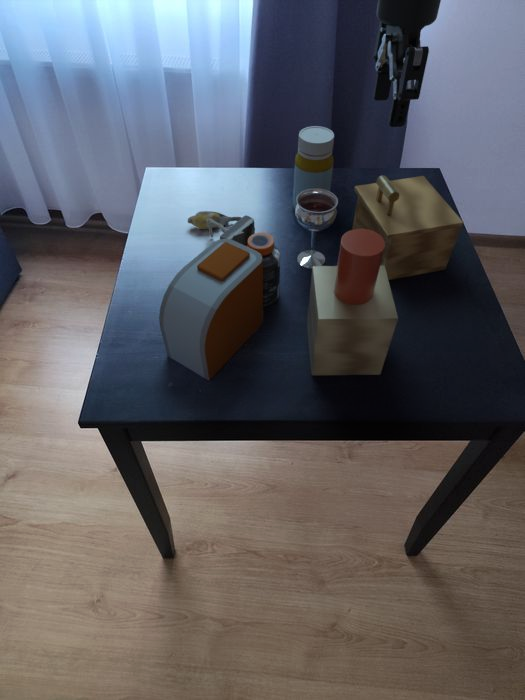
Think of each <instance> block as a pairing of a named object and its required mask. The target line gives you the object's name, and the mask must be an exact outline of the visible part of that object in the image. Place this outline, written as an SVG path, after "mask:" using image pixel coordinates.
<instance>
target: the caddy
mask: <svg viewBox="0 0 525 700" xmlns="http://www.w3.org/2000/svg"><path fill="white" fill-rule="evenodd" d="M352 222H353V223H352V228H351V230H353V229H368V230H371V231H374V232H376V233H378V234H379V235H380V236H381V237H382V238H383V239H384V241H385V248H384V252H383V256H382V261H381V265H380V266H382V265H384V266H385V269H386V273H387V277H388V281H391V280H392V281H393V280H397V279H402V278H408V277H413V276H419V275H423V274H429V273H434V272H441V271H445V270H446V268H447V266H448V263H449V261H450V258H451V256H452V253H453V250H454V248H455V245H456V243H457V240H458V237H459V235H460V233H461V230H462V227H456V228H450V229H444V230H438V231H433V232H427V233H421V234H415V235H409V236H404V237H398V238H392V239H386V237H385V236H384V234H383V233H382V231H381V230H380V228H379V227H378V225H377V224H376V222H375V221H374V219H373V218H372V216H371V215H370V213H369V212H368V210H367V209H366V207H365V206H364V204H363V203H362V201H361V200H360V198H359V197H358V196H357V199H356V205H355V211H354V217H353V221H352Z"/></svg>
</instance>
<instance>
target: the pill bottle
mask: <svg viewBox="0 0 525 700" xmlns="http://www.w3.org/2000/svg"><path fill="white" fill-rule="evenodd" d="M247 247H249V248H251V249H253V250H256V251H257V252H259V253H260V254H261V255H262V258H263V307H268V306H270V305H273V304H274V303H276V302H277V300H278V299H279V297H280V285H281V284H280V283H281V282H280V281H281V277H280V276H281V253H280V251H279V248H278V247H276V246H275V239H274V237H273V236H272V235H271V234H269V233H266V232H255V233H254V234H253V235H251V236H250V237H249V238H248V245H247Z"/></svg>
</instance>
